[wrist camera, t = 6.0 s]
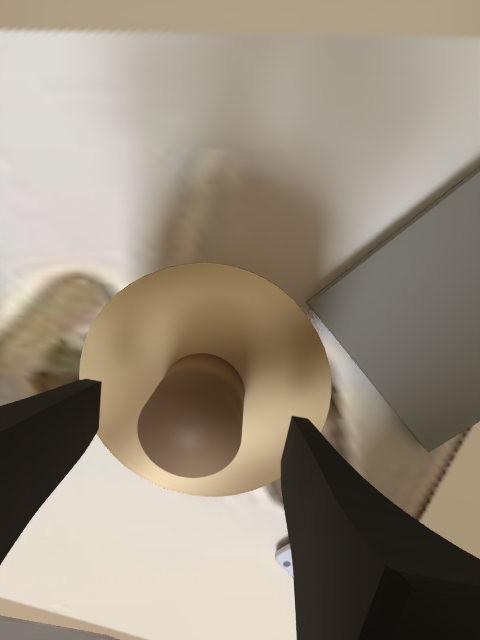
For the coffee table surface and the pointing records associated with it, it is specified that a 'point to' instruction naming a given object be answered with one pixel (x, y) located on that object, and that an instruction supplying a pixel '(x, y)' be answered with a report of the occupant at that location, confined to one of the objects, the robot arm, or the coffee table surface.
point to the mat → (418, 316)
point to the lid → (204, 377)
